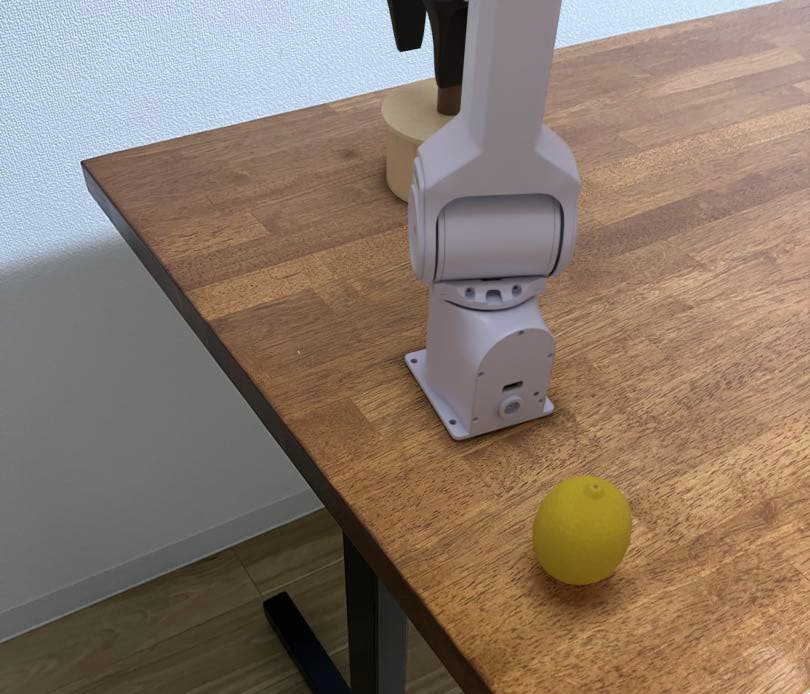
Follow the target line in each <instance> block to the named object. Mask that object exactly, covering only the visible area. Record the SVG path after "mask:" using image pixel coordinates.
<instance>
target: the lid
mask: <svg viewBox="0 0 810 694" xmlns="http://www.w3.org/2000/svg"><path fill="white" fill-rule="evenodd" d="M462 82H463V81H462ZM461 95H462V84H461V85H458V86H453V87H448V88H443V89H441V88H439V87H438V86H437V84H436V79H427V80H421V81H416V82H413V83H409V84H406V85H404V86H400V87H399V88H397V89H395V90H393V91H392V92H390V93H389V94H388V95H387V96H386V97H385V99H384V100H383V102H382V104H381V107H380V114H381V120H382V122H383V124H384V126H385V127H386V129H387V128H388V129H389V130H390V131H391V132H392V133H394V134H395V135H397V136H399V137H400V138H402V139H404V140H407V141H409V142H412V143H415V144H418V145H421V144H422V143H424V142H425V141H426V140H427V139H428V138H430V137H431V136H432V135H433V134H434V133H436V132H437V131H438V130H440V129H441V128H442V127H443V126H445V125H446V124H447V123H449V122H450V121H451V120H452V119H453V118H454V117H455V116H457V115H458V113H459V112H460V108H461Z"/></svg>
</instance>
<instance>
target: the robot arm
mask: <svg viewBox="0 0 810 694" xmlns="http://www.w3.org/2000/svg"><path fill="white" fill-rule="evenodd" d="M562 1H563V0H386V3H387V9H388V11H389V17H390V23H391V29H392V32H393V39H394V43H395V46H396V50H397V51H398V52H399V53H403V52H409V51H414V50H415V51H416V50H420V49H422V45H423V41H424V36H425V30H426V29H425V28H426V22H427V21H426V19H427V18H428V21H429V26H430V31H431V38H432V49H433V50H432V51H433V71H434V80H436V84H437V86H438V87H439V88H441V89H443V88H448V87H453V86H458V85H461V84H462V95H461V108H460V112H459V113H458V115H457V116H455V117H454V118H453V119H452V120H451V121H450V122H449V123H447V124H446V125H445V126H443V127H442V128H441V129H440V130H438V131H437V132H436V133H434V134H433V135H432V136H431V137H430V138H428V139H427V140H426V141H425V142H424V143H422V144H421V145H420V146H419V148H418V149H417V157H416V158H415V159H414V162H413V178H412V186H411V187H410V190H409V197H408V202H407V238H408V250H409V259H410V266H411V270H412V274H413V275H414V276H415V277H416V279H417V280H419V282H420V283H421V284H422V285H426V284H428V302H427V318H426V319H427V321H426V341H425V349H420V350H416V351H412V352H409V353H407V354H405V357H404V362H405V364H406V366H407V367H408V369H409V370H410V372H411V374H412V375H413V377H414V378H415V380H416V381H417V384H418V385H419V387H420V388H421V390H422V391H423V393H424V395H425V396H426V398H427V399H428V401H429V402H430V404H431V406H432V407H433V409H434V411H435V412H436V414H437V415H438V417H439V419H440V421H441V422H442V423H443V425H444V426H445V428H446V430H447V432H448V433H449V435H450V436H451V438H452V439H453V440H455V441H462V440H466V439H469V438H472V437H476V436H479V435H483V434H487V433H490V432H494V431H497V430H500V429H504V428H507V427H510V426H514V425H518V424H521V423H525V422H527V421H531V420H535V419H538V418H541V417H545V416H548V415H551V414H553V412H554V410H555V405H554V404H553V403H552V401H551V400H550V398H549V397H548V396H547V395H548V390H549V387H550V382H551V377H552V372H553V367H554V363H555V358H556V351H557V345H556V340H555V337H554V336H553V334H552V332H551V330H550V329H549V328H548V326H547V324H546V322H545V319H544V317H543V314H542V311H541V307H540V301H539V295H543V294H546V292H547V289H548V283H549V278H550V277H553V278H557V277H560V276H561V275H562V274H563V273H564V272H565V270H566V268H567V267H568V266H569V265H570V263H571V262H572V259H573V257H574V253H575V249H576V245H577V244H576V243H577V237H578V228H579V227H578V226H579V225H578V224H579V214H578V213H579V212H578V206H579V199H580V192H581V186H582V185H581V184H582V180H581V176H580V175H581V174H580V171H579V168H578V165H577V160H576V158H575V155H574V152H573V151H572V149H571V146H570V145H569V144H568V143H567V142H566V141H565V140H564V139H563V138H562V137H561V136H560V135H558V133H556V131H554V130H553V129H552V128H551V127H549V126H548V125H547V124H546V123H545V122H544V115H545V108H546V102H547V96H548V90H549V83H550V76H551V70H552V65H553V64H552V63H553V58H554V53H555V46H556V41H557V40H556V39H557V34H558V27H559V21H560V15H561V9H562V8H561V7H562V5H563V4H562V3H563V2H562ZM462 81H463V82H462Z"/></svg>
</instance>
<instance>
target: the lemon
mask: <svg viewBox="0 0 810 694" xmlns="http://www.w3.org/2000/svg"><path fill="white" fill-rule="evenodd" d="M632 529H633V517H632V513H631V508H630V505H629V503H628V501H627V499H626V497H625V495H624V494H623V492H622V491H621V490H620V489H619V488H618V487H617V486H616V485H614V484H613V483H612V482H610V481H609V480H606V479H605V478H601V477H598V476H595V475H578V476H577V475H576V476H573V477H569V478H566V479H564V480H562V481H560V482H559V483H558V484H557V485H555V486H554V487H552V489H551V490H550V491H549V493H547V495H546V496H545V497H544V499H542V501H541V503H540V505H539V507H538V509H537V511H536V514H535V517H534V520H533V523H532V533H531V542H532V543H531V544H532V548H533V551H534V554H535V555H534V556H535V557H536V560H537V562H538V563H539V564H540V566H541V568H542V569H543V570H544V571H545V572H546V573H547V574H548V575H549V576H551V577H552V578H553V579H555V580H557V581H560V582H561V583H562V582H563V583H564V584H568V585H574V586H586V585H590V584H594V583H597V582H599V581H601V580H604V579H605V578H606V577H608V576H610V575H611V573H613V572H614V570H616V568H617V567H619V565H620V564H621V563H622V561H623V559H624V558H625V555H626V554H627V552H628V549H629V546H630V543H631V538H632V537H631V536H632Z"/></svg>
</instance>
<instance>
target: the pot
mask: <svg viewBox="0 0 810 694" xmlns="http://www.w3.org/2000/svg"><path fill="white" fill-rule="evenodd" d="M419 146H420V145H418V144H415V143H412V142H409V141H407V140H404V139H402V138H400V137H399V136H397V135H395V134H394V133H392V132H391V131H390V130H389V129H388V128H387V127H386V182H387V186H388V188H389V189H390V190H391V192H392V193H393V194H394V195H395V196H396V197H397V198H398V199H400V200H402V201H403V202H405V203H408V197H409V190H410V187H411V186H412V178H413V162H414V159H415V158H416V157H417V149H418V148H419Z"/></svg>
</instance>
